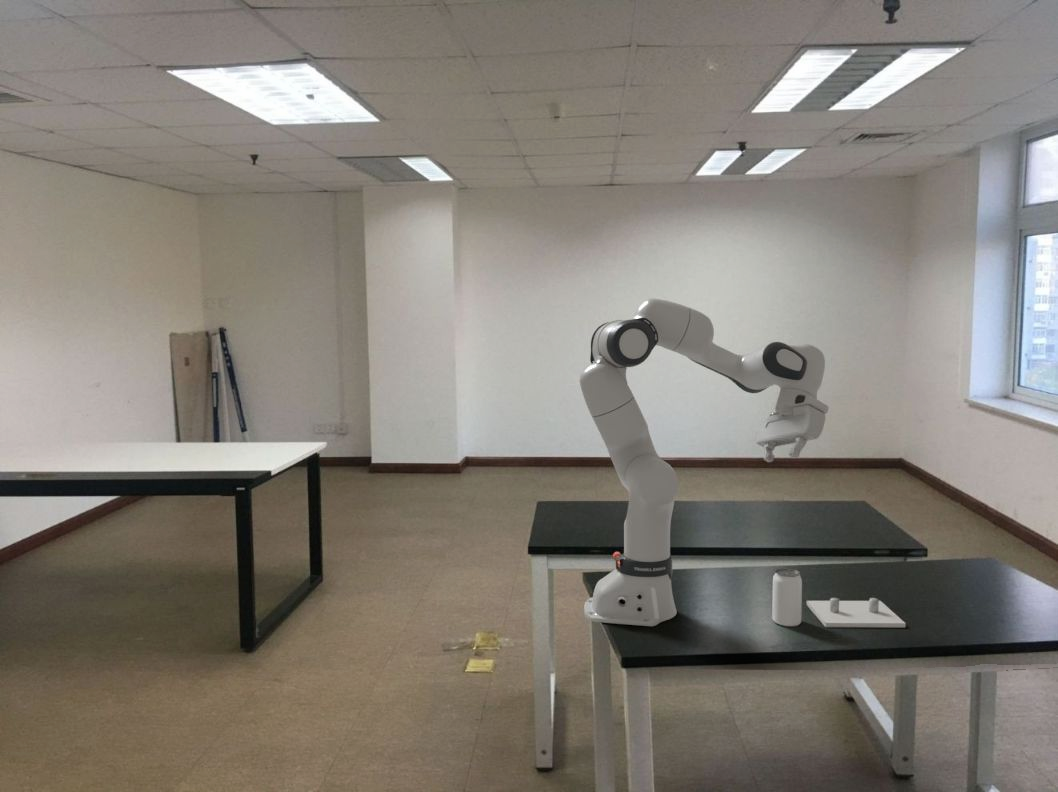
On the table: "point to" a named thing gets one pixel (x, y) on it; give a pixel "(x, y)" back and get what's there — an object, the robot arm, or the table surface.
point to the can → (787, 597)
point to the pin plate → (854, 613)
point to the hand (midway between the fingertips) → (780, 459)
